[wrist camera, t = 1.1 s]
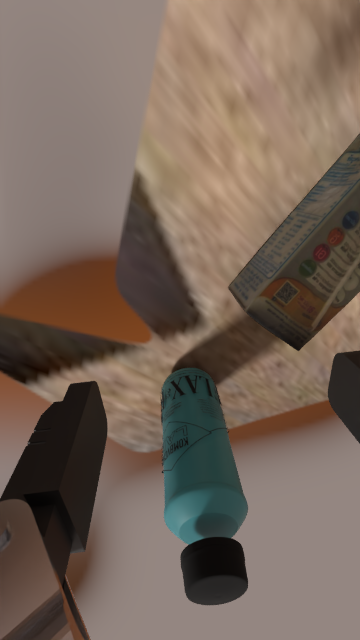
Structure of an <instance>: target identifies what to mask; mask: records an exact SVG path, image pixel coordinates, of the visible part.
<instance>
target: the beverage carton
mask: <svg viewBox="0 0 360 640" xmlns="http://www.w3.org/2000/svg"><path fill="white" fill-rule="evenodd" d="M228 288H229V290H230V291H231V293H232V294H233V296H234V297H235V299H236V300H237V302H238V303H239V304H240V306H241V307H242V308H243V310H244V311H245V312H246V313H247V314H248V315H249V316H251V317H252V318H253V319H254V320H255V321H256V322H258V323H259V324H260V325H262V326H263V327H264V328H266V329H267V330H268V331H270V332H271V333H273V334H274V335H276V336H277V337H278V338H280V339H281V340H283V341H284V342H286V343H287V344H289V345H290V346H292V347H293V348H294V349H296V350H297V351H299V350H300V349H301V348H302V347H303V346H304V345H305V344H306V343H307V342H308V341H310V340H311V339H312V338H313V337H314V336H315V335H316V334H317V333H318V332H319V331H320V330H321V329H322V328H323V327H324V326H325V325H326V324H327V323H328V322H329V321H330V320H331V319H332V318H333V317H334V316H335V315H336V314H337V313H338V312H339V311H341V310H342V309H343V308H344V307H345V306H346V305H347V304H348V303H349V302H350V301H351V300H352V299H353V298H354V297H355V296H356V295H357V294H358V293H359V292H360V134H359V135H358V136H357V138H356V139H355V140H354V141H353V143H352V144H351V145H350V146H349V147H348V148H347V150H346V151H345V152H344V153H343V154H342V155H341V157H340V158H339V159H338V160H337V161H336V162H335V164H334V165H333V166H332V167H331V168H330V169H329V170H328V171H327V172H326V174H325V175H324V176H323V177H322V178H321V180H320V181H319V182H318V183H317V184H316V185H315V187H314V188H313V189H312V190H311V191H310V192H309V194H308V195H307V196H306V197H305V198H304V199H303V201H302V202H301V203H300V204H299V205H298V206H297V207H296V209H295V210H294V211H293V212H292V213H291V214H290V215H289V216H288V218H287V219H286V220H285V221H284V222H283V223H282V225H281V226H280V227H279V228H278V229H277V230H276V232H275V233H274V234H273V235H272V236H271V237H270V239H269V240H268V241H267V242H266V243H265V244H264V246H263V247H262V248H261V249H260V250H259V251H258V253H257V254H256V255H255V256H254V257H253V258H252V260H251V261H250V262H249V263H248V265H247V266H246V267H245V268H244V269H243V270H242V272H241V273H240V274H239V275H238V276H237V277H236V279H235V280H234V281H233V282H232V284H231V285H230V286H229V287H228Z"/></svg>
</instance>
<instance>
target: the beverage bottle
mask: <svg viewBox="0 0 360 640" xmlns="http://www.w3.org/2000/svg"><path fill="white" fill-rule="evenodd" d="M212 379H213V378H212V377H211V376H209V375H208V374H207V373H206V372H204V371H203V370H200V369H197V368H183V369H180V370H177V371H175V372H174V373H172V374H171V375H170V376H169V377H168V378H167V379H166V381H165V382H164V385H163V388H161V389H162V399H161V406H162V409H161V411H162V414H161V415H162V416H161V420H162V422H161V423H163V445H162V446H163V447H162V449H163V459H162V461H163V463H162V464H163V465H164V470H163V471H164V472H163V471H162V473H164V486H165V509H164V519H165V523H166V525H167V527H168V528H169V529H170V530H171V531H172V532H173V533H174V534H175V535H176V536H177V537H178V538H180V539H181V540H182V541H184V542H185V543H187V544H189V545H188V546H187V547H186V548H185V549H184V550H183V551H182V553H181V568H182V572H183V579H184V586H185V593H186V596H187V598H188V599H189V600H190V601H192V602H194V603H197V604H201V605H219V604H224V603H227V602H231V601H233V600H235V599H237V598H239V597H240V596H242V595H243V594H244V593H245V591H246V590H247V588H248V579H247V573H246V567H245V557H244V552H243V548H242V546H241V544H240V543H239V542H238V541H236V540H234V539H231V537H233V535H235V533H236V532H237V531H238V529H239V528H240V526H241V525H242V523H243V521H244V520H245V518H246V515H247V512H248V505H247V501H246V498H245V496H244V494H243V490H242V486H241V483H240V479H239V475H238V471H237V468H236V464H235V460H234V456H233V453H232V449H231V445H230V441H229V437H228V432H227V428H226V425H225V419H224V418H223V415H224V414H222V413H223V412H222V411H223V410H222V408H221V407H220V404H221V402H220V399H219V395H218V392H216V391H217V388H216V386H215V385H216V384H214V381H213V380H212ZM221 405H222V404H221ZM226 423H227V422H226Z"/></svg>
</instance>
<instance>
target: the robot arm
mask: <svg viewBox="0 0 360 640" xmlns="http://www.w3.org/2000/svg"><path fill="white" fill-rule="evenodd" d="M328 398H329V402H330V405H331V407H332V408H333V410H334V411H335V413H336V414H337V415H338V416H339V418H340V419H341V420H342V422H343V423H344V424H345V425H346V427H347V428H348V429H349V431H350V432H351V433H352V434H353V436H354V437H355V438H356V439H357V441H358V442H359V443H360V351H353V352H344V353H338V354H336V355H335V357H334V360H333V365H332V370H331V376H330V381H329V387H328ZM106 439H107V418H106V414H105V410H104V406H103V402H102V398H101V395H100V391H99V387H98V384H97V382H96V381H90V382H81V383H73V384H70V386H69V387H68V390H67V392H66V395H65V397H64V399H63V401H60V402H54V403H53V404H52V405H51V406H50V407H49V408H48V409H47V410H46V411H45V412H44V413H43V414H42V415H41V417H40V419H39V421H38V423H37V425H36V427H35V429H34V433H32V435H31V437H30V439H29V441H28V446H26V447H25V449H24V452H23V454H22V455H21V458H20V459H19V462H18V464H17V466H16V468H15V470H14V472H13V474H12V476H11V478H10V480H9V482H8V484H7V486H6V488H5V490H4V492H3V494H2V496H1V498H0V640H91V639H90V637H89V634H88V632H87V629H86V627H85V624H84V621H83V619H82V616H81V614H80V611H79V609H78V606H77V603H76V601H75V598H74V596H73V593H72V591H71V588H70V586H69V583H68V581H67V578H66V576H65V573H66V569H67V565H68V560H69V556H70V553H77V552H84V551H85V548H86V543H87V538H88V533H89V528H90V522H91V517H92V512H93V507H94V502H95V496H96V491H97V486H98V481H99V475H100V470H101V465H102V459H103V454H104V449H105V444H106Z"/></svg>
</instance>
